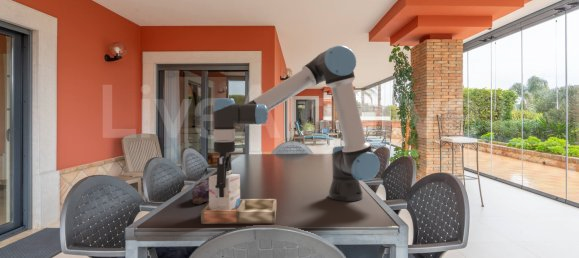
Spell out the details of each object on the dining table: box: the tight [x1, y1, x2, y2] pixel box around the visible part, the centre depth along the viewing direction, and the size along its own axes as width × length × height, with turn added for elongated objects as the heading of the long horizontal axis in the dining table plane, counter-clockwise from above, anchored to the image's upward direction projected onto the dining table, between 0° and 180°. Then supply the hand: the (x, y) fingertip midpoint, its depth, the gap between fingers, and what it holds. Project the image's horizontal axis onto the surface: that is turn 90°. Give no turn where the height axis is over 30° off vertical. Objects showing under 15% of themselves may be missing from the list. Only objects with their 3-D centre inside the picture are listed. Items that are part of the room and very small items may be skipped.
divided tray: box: [200, 198, 277, 225], centre depth 118 cm, size 25×17×4 cm
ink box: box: [208, 169, 241, 210], centre depth 118 cm, size 9×8×13 cm
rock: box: [191, 179, 209, 205], centre depth 139 cm, size 12×9×10 cm
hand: (225, 202), depth 118 cm, fingers closed on ink box, 10 cm apart
